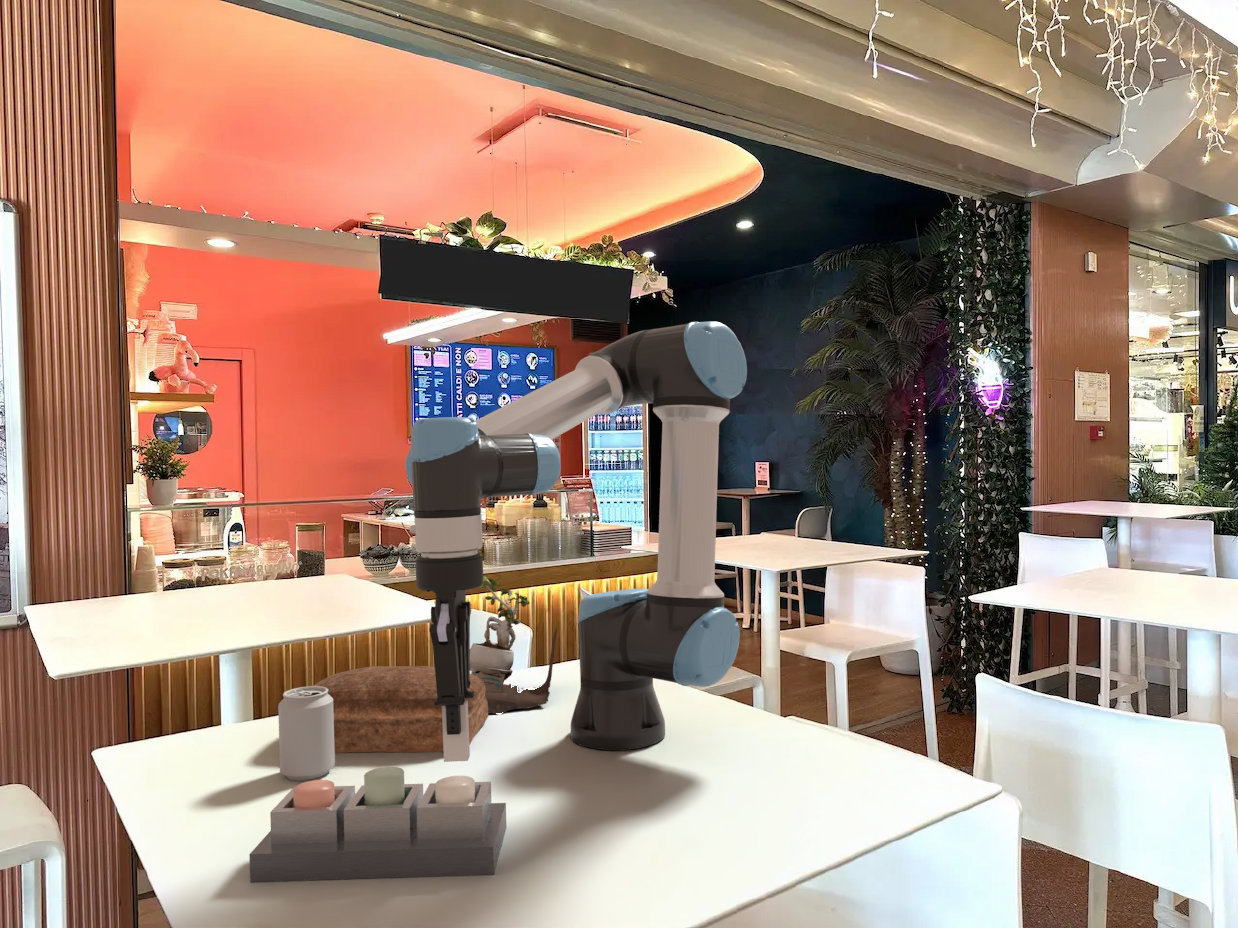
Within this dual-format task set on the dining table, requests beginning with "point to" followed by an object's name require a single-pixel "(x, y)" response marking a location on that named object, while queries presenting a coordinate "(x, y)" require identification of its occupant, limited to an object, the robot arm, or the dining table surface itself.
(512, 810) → the dining table surface
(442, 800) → the button ivory
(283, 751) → the can
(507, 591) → the potted plant
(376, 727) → the bread
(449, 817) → the console
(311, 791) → the button coral
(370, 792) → the button sage
